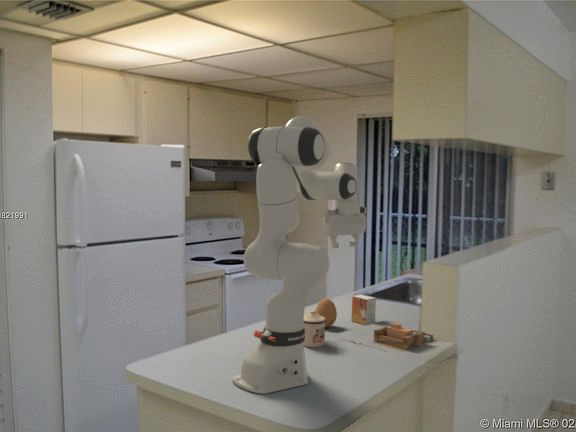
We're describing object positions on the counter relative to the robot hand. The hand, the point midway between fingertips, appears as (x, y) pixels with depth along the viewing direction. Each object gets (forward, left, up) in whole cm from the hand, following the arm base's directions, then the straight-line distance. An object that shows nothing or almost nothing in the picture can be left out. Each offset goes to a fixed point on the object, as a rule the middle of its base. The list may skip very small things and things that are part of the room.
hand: (343, 247), depth 196 cm
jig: (+11, -19, -33) cm, 40 cm away
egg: (+6, +13, -33) cm, 36 cm away
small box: (+23, +8, -33) cm, 41 cm away
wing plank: (+17, -19, -32) cm, 41 cm away
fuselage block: (+8, -20, -32) cm, 38 cm away
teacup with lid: (-12, +2, -33) cm, 35 cm away
